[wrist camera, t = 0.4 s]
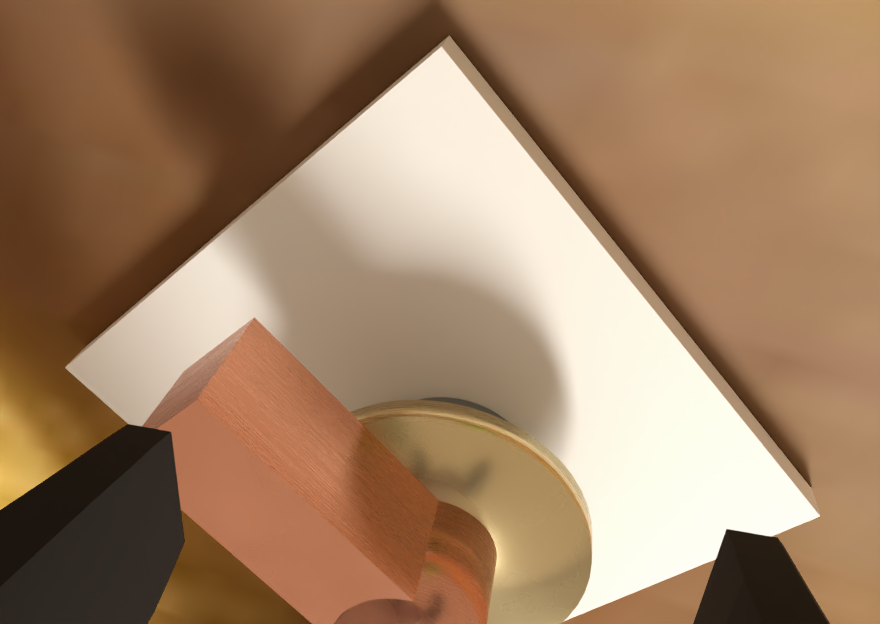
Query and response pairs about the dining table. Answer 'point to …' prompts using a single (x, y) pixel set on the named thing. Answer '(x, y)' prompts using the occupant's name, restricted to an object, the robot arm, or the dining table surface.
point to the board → (474, 322)
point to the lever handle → (373, 496)
